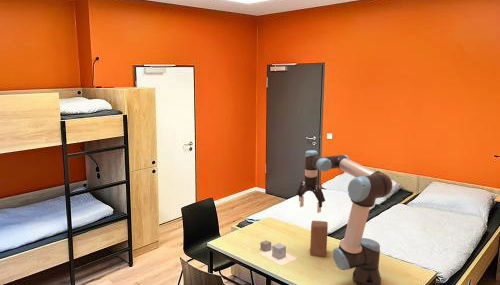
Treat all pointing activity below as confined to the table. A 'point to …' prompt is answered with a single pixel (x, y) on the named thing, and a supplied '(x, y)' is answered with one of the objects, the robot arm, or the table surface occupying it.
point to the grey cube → (265, 246)
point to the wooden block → (318, 238)
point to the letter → (280, 261)
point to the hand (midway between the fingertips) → (310, 209)
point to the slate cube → (279, 251)
